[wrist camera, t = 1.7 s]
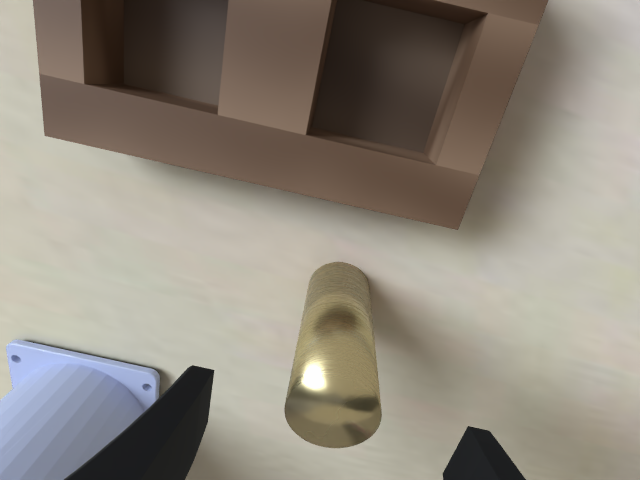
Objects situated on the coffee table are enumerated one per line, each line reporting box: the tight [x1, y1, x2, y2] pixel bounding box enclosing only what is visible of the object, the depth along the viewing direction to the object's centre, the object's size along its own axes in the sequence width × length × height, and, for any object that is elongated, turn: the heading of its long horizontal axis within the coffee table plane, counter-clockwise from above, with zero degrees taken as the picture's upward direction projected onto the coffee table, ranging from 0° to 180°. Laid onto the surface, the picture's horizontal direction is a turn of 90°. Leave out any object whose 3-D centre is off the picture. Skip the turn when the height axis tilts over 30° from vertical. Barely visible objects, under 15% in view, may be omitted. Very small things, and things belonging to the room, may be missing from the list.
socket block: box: [33, 0, 548, 230], centre depth 12 cm, size 8×14×3 cm, turn 78°
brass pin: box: [285, 262, 382, 448], centre depth 14 cm, size 3×3×7 cm
